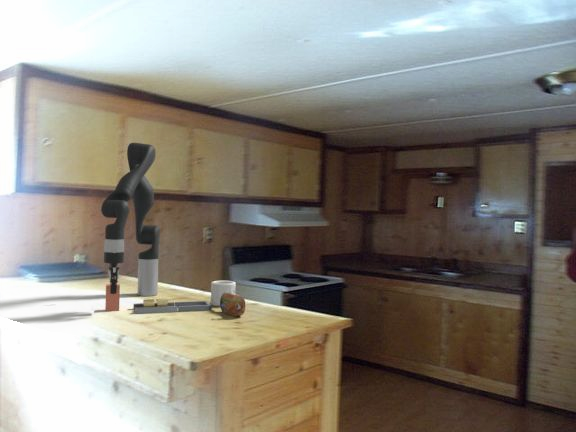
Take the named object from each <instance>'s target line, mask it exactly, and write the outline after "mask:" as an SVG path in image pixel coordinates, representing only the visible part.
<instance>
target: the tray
mask: <svg viewBox="0 0 576 432" xmlns="http://www.w3.org/2000/svg"><path fill="white" fill-rule="evenodd" d="M174 303H175V306H177V307H178V312H177V313H181V312H182V313H184V312H205V311H212V310H213V309H212V306H213V305H211V302H209V301H207V300H201V301H200V300H199V301H198V300H197V301H195V300H194V301H192V300H191V301H190V300H189V301H175V302H174Z"/></svg>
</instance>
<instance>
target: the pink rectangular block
mask: <svg viewBox="0 0 576 432" xmlns="http://www.w3.org/2000/svg"><path fill="white" fill-rule="evenodd" d="M120 286H121V284H120V283H117V293H116V294H111V293H110V288H111V284H110V283H107V284H105V312H120V298H121V297H120V295H121V294H120V291H121V287H120Z"/></svg>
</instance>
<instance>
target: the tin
mask: <svg viewBox="0 0 576 432" xmlns="http://www.w3.org/2000/svg"><path fill="white" fill-rule="evenodd" d="M220 310H221V312H222V313H223V314H225V315H228V316H232V317H241V316H243V315H244V314H245V311H246V300H245V298H244V297H243V295H241V294H236V293H235V294H232V293H224V294H223V295H222V296H221V299H220Z"/></svg>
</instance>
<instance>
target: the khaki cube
mask: <svg viewBox="0 0 576 432" xmlns="http://www.w3.org/2000/svg"><path fill="white" fill-rule="evenodd" d="M168 302H169V301H168V299H167V298H159V299H155V303H156V307H160V306H168Z"/></svg>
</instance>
